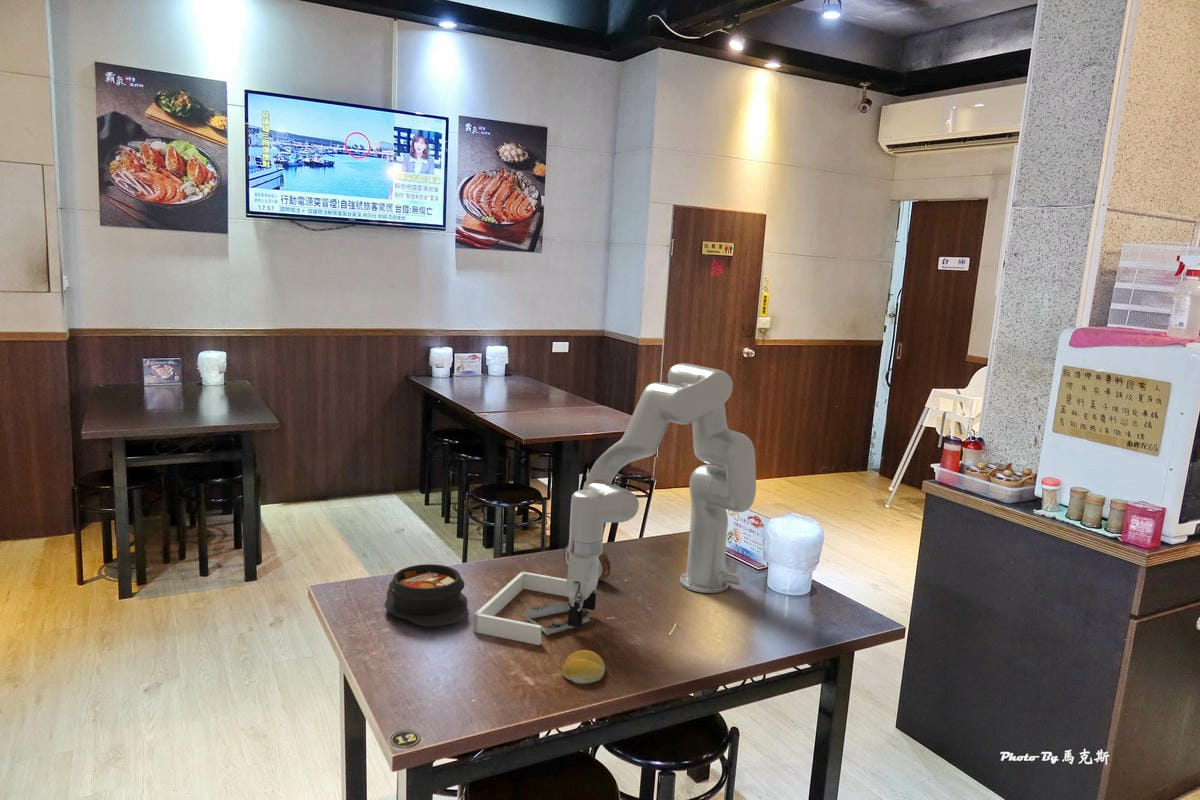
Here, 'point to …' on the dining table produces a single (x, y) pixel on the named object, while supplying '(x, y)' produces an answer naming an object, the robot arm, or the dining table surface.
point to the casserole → (427, 595)
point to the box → (524, 580)
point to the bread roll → (583, 667)
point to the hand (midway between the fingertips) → (581, 617)
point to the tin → (603, 563)
